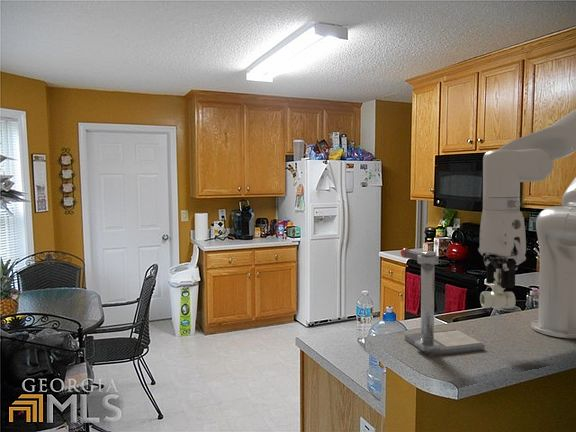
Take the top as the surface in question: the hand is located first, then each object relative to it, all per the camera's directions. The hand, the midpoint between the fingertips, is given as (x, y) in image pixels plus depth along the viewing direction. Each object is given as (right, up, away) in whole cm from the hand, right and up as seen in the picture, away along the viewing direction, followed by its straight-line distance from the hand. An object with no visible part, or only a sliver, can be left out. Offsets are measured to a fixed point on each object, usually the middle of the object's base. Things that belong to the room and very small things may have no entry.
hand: (500, 284), depth 101 cm
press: (-11, -15, +3) cm, 19 cm away
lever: (-18, +5, +2) cm, 19 cm away
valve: (-1, -6, 0) cm, 6 cm away
